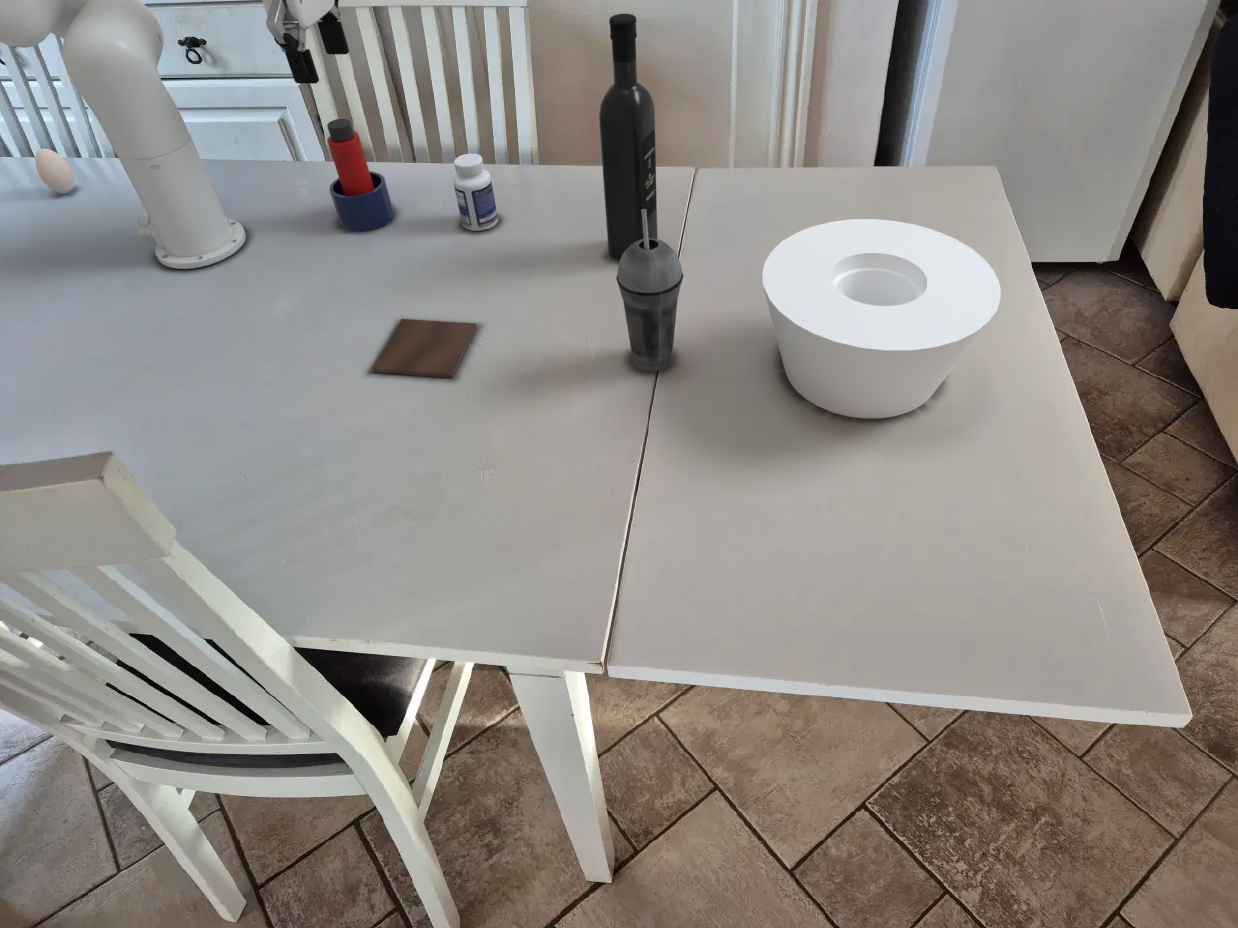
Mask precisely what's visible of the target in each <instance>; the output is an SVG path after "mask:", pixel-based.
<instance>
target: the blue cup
mask: <svg viewBox="0 0 1238 928" xmlns="http://www.w3.org/2000/svg"><path fill="white" fill-rule="evenodd" d="M369 172H370V176H371V179H372V182H373V186H374V190H372V191H371V192H368V193H365V194H362V195H356V196H345V195H344V192H343V188H342V185H341V182H340V179H339V177H338V178H336V179H335V180H333V181H332V183H331V184H329V194H330V197H331V199H332V202H333V206H334V209H335V212H336V215H337V218H338V220H339V223H340V225H341V226H342V228H344V229H345V230H347V231H351V232H369V231H374V230H377V229H379V228H382V227H384V226H385V225H387V224H388V223H390V222H391V221H392V220H393V219H394V215H395V213H394V208H393V207H394V206H393V204H392V199H391V196H390V192H389V189H388V185H387V182H386V178H385V177H384V176H383V174H381V173H379V172H376V171H371V170H369Z"/></svg>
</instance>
